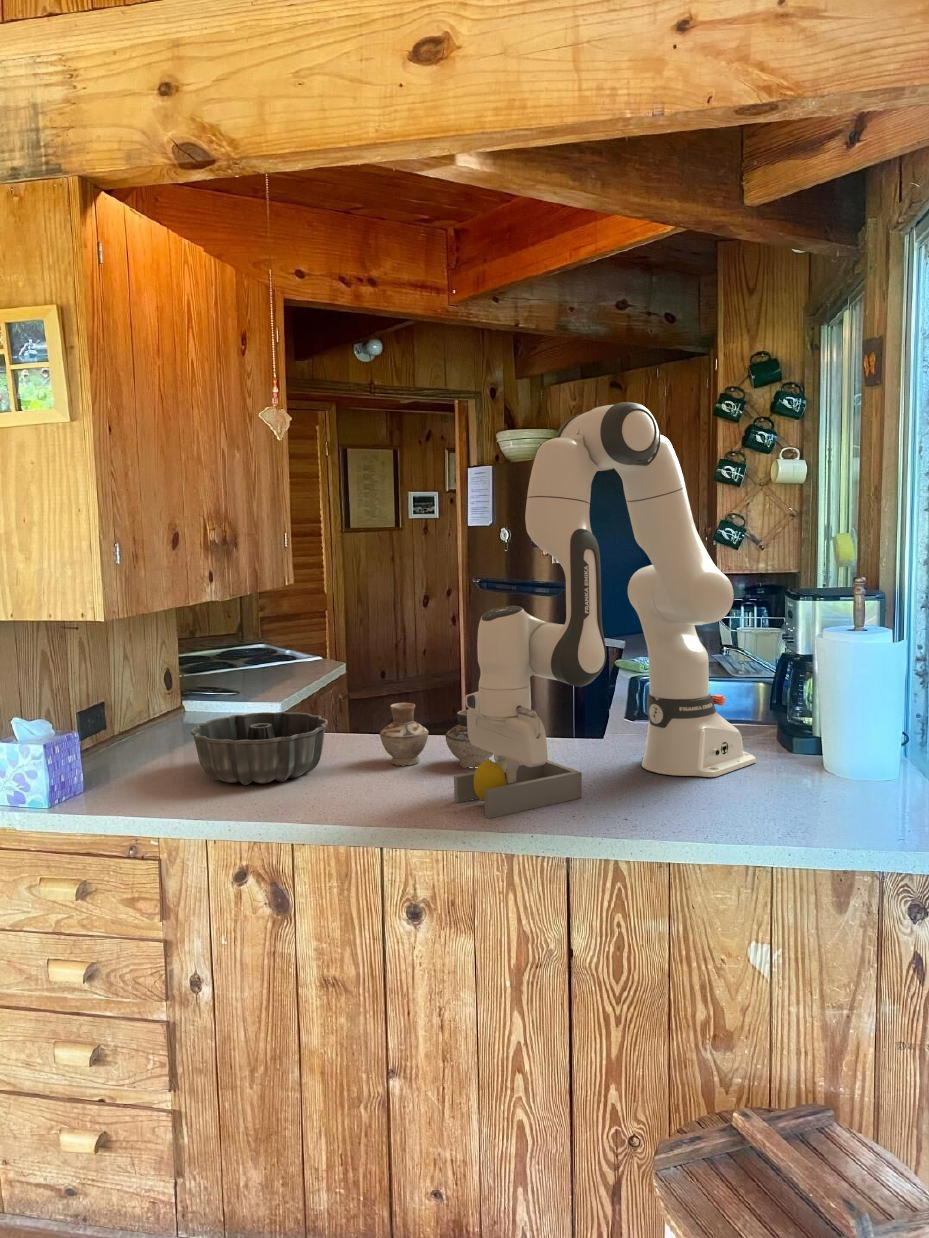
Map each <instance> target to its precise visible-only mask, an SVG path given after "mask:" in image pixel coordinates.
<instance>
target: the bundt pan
mask: <svg viewBox="0 0 929 1238" xmlns="http://www.w3.org/2000/svg"><path fill="white" fill-rule="evenodd" d="M328 724H329V721H328V719H326V718H322V716H321V715H313V714H311V713H305V712H287V711H277V712H268V711H267V712H265V711H264V712H252V713H246V714H245V713H244V714H235V715H233V714H232V715H230V716H226V717H225V716H224V717H218V718H214V719H210V720H208V721H206V722H204V723H198V724H195V727H193V728H192V729H191V730H190V734H191V736H193V739H194V743H195V747H196V752H197V753H196V754H197V756H198V760H199V764H200V765H201V767H202V769H203V770H204V772H205V774H207V776H208V777H210V778H211V779H213V780H215V781H221V782H225V783H229V784H235V783H236V784H237V783H241V784H242V785H244V786H248V785H250V784H251V783H252V782H254V783H257V784H267V783H270V782H272V781H274V780H275V781H276V782H279V783H283V782H285V781H286V780H287V779H294V778H298V777H300V776H302V775H304V774H308V773H310V772H312V771H313V770H314V769H315V768H316V767H317V766H318V764H319V763H320V761H321V756H322V753H323V748H324V747H323V746H324V739H325V731H326V730H327V726H328Z"/></svg>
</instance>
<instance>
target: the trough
mask: <svg viewBox="0 0 929 1238" xmlns="http://www.w3.org/2000/svg"><path fill="white" fill-rule="evenodd" d="M475 772H476V771H473V772H472V771H471V772H468V773H467V772H465V773H462V774H456V775H453V796H454V802H455V801H456V803H457V802H458V803H463V801H464V802H467V801H466V800H469V801H472V799H474V800H477V799H476V798H478V796H477V795H476V792H475V790H474V775H475ZM582 797H583V783H582V771H579V770H575V769H573V768H570V767H568V766H565V765H562V764H559V763H557V762H554V761H551V760H548V759H547V761H546V763H545V764H544V765H540V766H536V767H527V766H525V765H522V764H520V765H519V767H518V769H517V772H516V781H515V782H513V783H508V782H506V785H505V786H500V787H495V788H490V789H486V790H484V801H483V802H484V817H485V818H488V819H492V818H495V817H501V816H505V815H509V814H515V813H519V812H523V811H524V812H525V811H528V810H531V809H532V810H533V809H537V808H542V807H545V806H550V805H555V804H559V803H564V802H567V801H573V800H578V799H582ZM478 799H479V798H478ZM458 803H457V804H458Z"/></svg>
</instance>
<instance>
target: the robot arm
mask: <svg viewBox="0 0 929 1238" xmlns="http://www.w3.org/2000/svg"><path fill="white" fill-rule="evenodd" d="M613 469H614V470H615V472H617V474H618V475H619V476H620V478H621V481H622V485H623V493H624V497H625V502H626V507H627V511H628V514H629V516H628V517H629V518H630V519H629V520H630V525H631V527H632V532H633V536H634V539H635V542H636V544H637V545H638V546H639V547H640V548H641V549H642V550H643V552H644V553H645V554H646V555H647V557H648V559H649V560H650V563H651V564H650V565H646V566H643V567H641V568H639V569H637V571H635V572H634V573H633V574H632V576H631V577H630V578H629V579H630V580H629V582H628V585H627V598H628V599H629V603H630V604H631V606H632V608H634V610H635V612H636V614H637V616H638V618H639V621H640V624H641V628H642V632H643V637H644V640H645V644H646V648H647V649H646V650H647V656H648V676H649V677H648V679H649V680H648V682H649V683H648V684H649V685H648V686H649V692H648V693H647V696H646V697H647V700H646V706H647V707H646V708H647V709H646V711H647V717H648V725H647V734H646V740H645V741H646V743H645V747H644V754H643V758H642V761H641V767H642V768H644V769H645V770H647V771H649V772H653V773H657V774H661V775H669V776H680V777H681V776H682V777H683V776H684V777H685V776H687V777H689V776H690V777H692V776H693V777H704V778H707V777H708V778H716V777H719V776H721V775H725V774H727V773H730V772H733V771H735V770H738V769H742V768H743V767H744V768H745V767H747V766H749V765H752V764H755V763H756V762H757V760H756V759H757V757H756V756H755V755H753V754H751V753H749V752H747V751H744V745H743V744H744V743H743V738H742V737H743V736H742V734H741V732H740V730H739V729H737V727H736V726H734V725H733V724H731V723H730V722H729V721H727V720H726V719H725V718H724V717H722V716H721V714H719V713H718V712H717V709H716V706H715V705H718V706H721V707H722V706H724V705H725V703H726V701H727V697H725V695H724V694H723V695H722V694H714V695H711V694H710V693H709V691H710V690H709V689H710V687H709V682H710V681H709V679H710V678H709V669H710V668H709V654H708V651H707V649H706V648H705V646H704V645H703V644H702V642H701V639H700V638H699V636H698V633H697V630H696V626H702V625H707V624H713V623H717V622H719V621H722V619H724V618H725V617H726V616H727V615H728V613H730V610H732V609H731V608H732V606H733V603H734V597H735V596H734V588H733V585H732V582H731V581H730V579H729V578H728V577H727V576H726V575H725V574H724V573H723V572H722V571H721V570H720V569H719V568H718V567H717V566H716V565H715V563H714V561H713V560H712V558H711V556H710V555H709V553H708V551H707V549H706V547H705V546H704V543H703V541H702V539H701V537H700V535H699V533H698V531H697V530H698V529H697V528H696V523H695V522H694V518H693V512H692V510H691V504H690V501H689V497H688V491H687V488H686V483H685V479H684V475H683V472H682V468H681V465H680V462H679V459H678V457H677V455H676V452H675V449H674V448H673V445H672V443H671V440H669V439H668V438H667V437H666V436H664V435H662V434H661V432H660V430H659V426H658V423H657V421H656V419H655V417H654V415H653V414H652V412H651V411H650V410H649V409H648V408H646V407H645V406H644V405H642V404H640V403H637V402H628V401H626V402H625V401H623V402H621V401H620V402H618V403H615V404H608V405H601V406H598V407H594V408H592V409H591V410H589V411H586V412H584V413H580V414H576V415H574V416H572V417H571V418H569V419H567V420H565V422H564V423H563V424H562V425H561V426H560V427H559V429H558V431H557V433H556V436H555V437H554V438H551V439H549V440H546V441H544V442H543V443H542V444H541V445H540V446H539V447H538V449H537V451H536V454H535V458H534V460H533V465H532V469H531V472H530V477H529V483H528V489H527V495H526V505H525V506H526V507H525V514H524V515H525V519H524V521H525V528H526V529H525V530H526V533H527V534H528V536H529V538H530V539H531V541H532V542H533V543H534V544H535V546H536V547H538V548H539V549H540V550H542V551H543V552H545V553H546V554H547V555H550V556H551V557H553V558H554V559H555V560H556V561H557V562H558V564H560V566H561V567H562V568H561V569H562V570H563V572H564V577H565V606H566V607H565V611H566V613H565V614H566V616H565V623H564V624H562V623H561V624H559V623H554V622H549V621H548V622H547V621H545V620H543V619H539V618H537V617H535V616H533V615H531V614H529V613H528V612H526V611H525V609H524V608H523V607H521V606H518V605H504V606H499V607H494V608H491V609H489V610H487V611H485V613H483V614H482V615H481V618H480V619H479V624H478V629H477V646H476V647H477V662H478V666H479V669H480V670H479V671H480V677H479V681H478V691H475V692H472V693H468V694H466V695H465V697H464V703H465V707H466V708H468V709H467V710H468V711H467V729H468V737H469V740H470V743H471V744H472V745H473V746H476V747H478V748H481V749H483V750H486V751H489V752H491V753H494V754H493V760H494V762H495V763H497V764H498V765H500V766H501V767H502V769H503V771H504V774H505V778H506V782H508V783H513V782H515V781H516V772H517V769H518V767H519V765H520V764H522V765H525V766H527V767H536V766H540V765H544V764H545V763H546V761H547V760H548V758H549V757H548V756H549V755H548V744H547V735H546V731H545V726H544V723H543V721H542V719H541V718H540V717H539V715H538V714H537V711H536V710H534V709H532V700H531V699H532V698H531V697H532V696H531V695H532V694H531V677H533V676H536V677H540V678H543V679H549V680H553V681H559V682H562V683H564V684H567V685H569V686H570V685H571V686H572V687H573V686H574V687H585V686H587V685H589V684H591V683H592V682H593V681H595V679H596V678H597V677H598V676H599V675H600V674H601V672H602V671H603V669H604V667H605V664H606V662H607V646H606V641H605V640H606V639H605V636H604V635H605V634H604V631H603V617H602V614H603V613H602V611H603V610H602V571H601V570H602V569H601V554H600V547H599V543H598V540H597V538H596V536H595V535H594V534H593V531H592V528H591V521H590V520H591V519H590V508H591V505H590V504H591V495H592V494H591V492H592V483H593V480H594V477H595V475H596V473H597V472H599V471H600V472H602V471H610V470H613Z"/></svg>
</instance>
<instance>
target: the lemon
mask: <svg viewBox="0 0 929 1238" xmlns="http://www.w3.org/2000/svg"><path fill="white" fill-rule="evenodd" d="M475 769H476V770H475V771H474V772H475V775H474V790H475V792H476V795H477V796H478V799H479V800H481V801H482V802H484V790H486V789H490V788H495V787H500V786H505V785H506V778H505V774H504V771H503V769H502V767H501V766H500V765H498V764H497V763H495V761H492V759H489V760H487V761H486V762H484V763H482V764H481V765H479V766H478V768H475Z"/></svg>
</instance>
